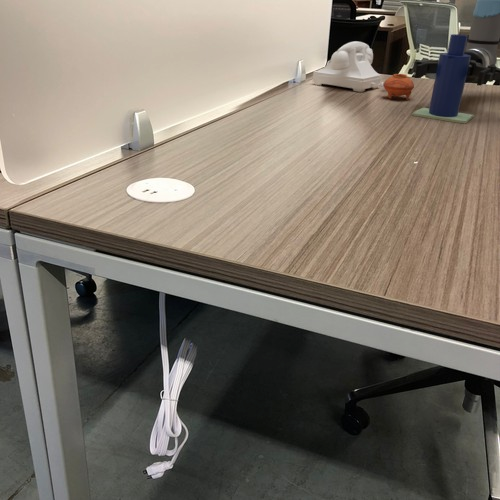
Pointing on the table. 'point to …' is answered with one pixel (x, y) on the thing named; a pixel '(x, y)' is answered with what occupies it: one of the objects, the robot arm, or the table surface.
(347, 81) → the telephone
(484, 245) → the table surface
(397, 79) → the pot
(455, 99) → the bottle
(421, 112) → the mat
